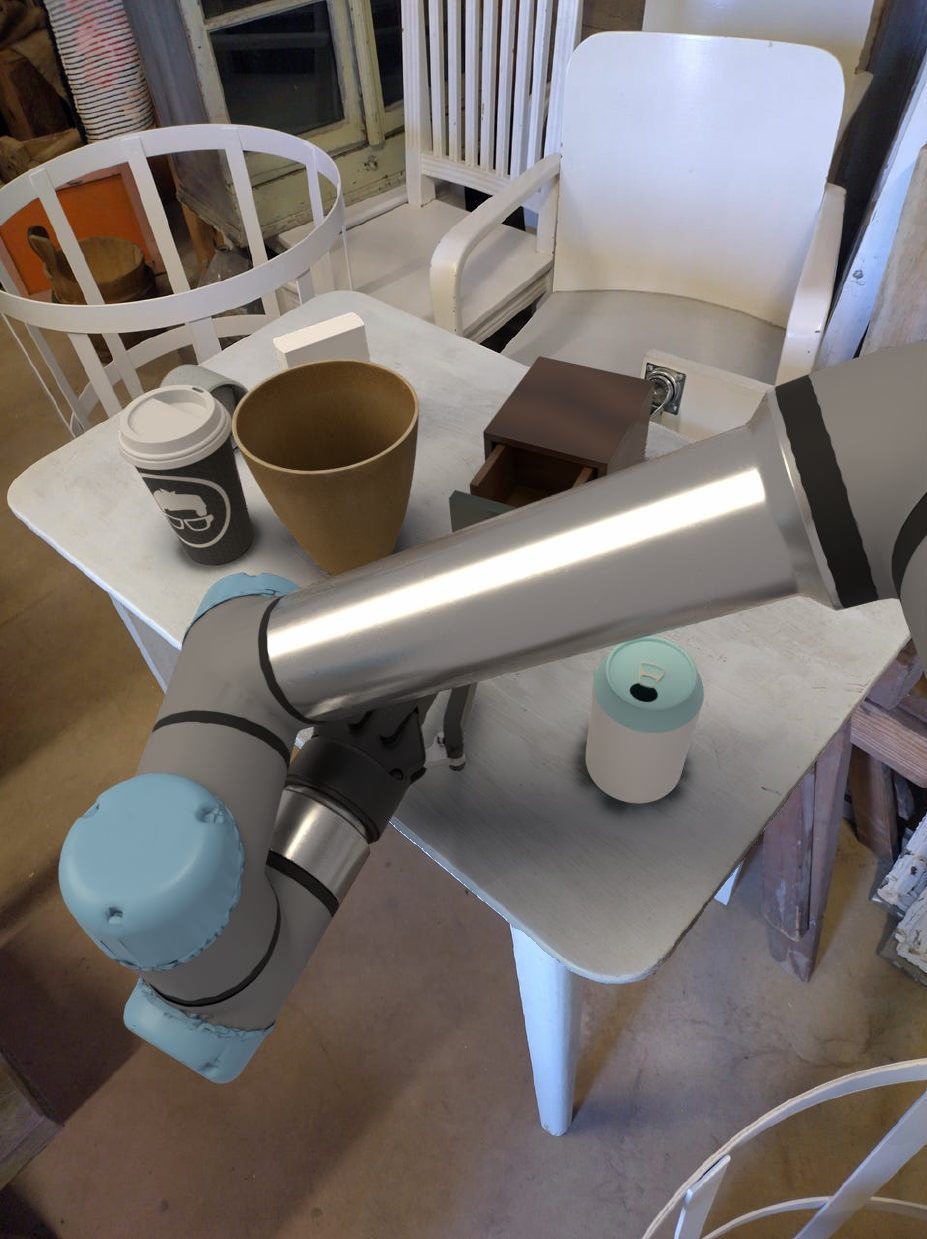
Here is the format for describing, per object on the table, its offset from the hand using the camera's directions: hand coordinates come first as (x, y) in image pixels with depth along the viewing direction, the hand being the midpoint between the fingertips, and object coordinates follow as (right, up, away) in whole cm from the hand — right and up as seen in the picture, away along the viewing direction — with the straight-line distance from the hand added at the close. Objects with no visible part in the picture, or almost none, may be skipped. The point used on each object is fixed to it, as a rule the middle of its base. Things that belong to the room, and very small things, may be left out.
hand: (481, 569), depth 65 cm
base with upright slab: (-15, +16, +24) cm, 32 cm away
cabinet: (+9, +9, +16) cm, 20 cm away
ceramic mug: (-30, +15, +24) cm, 41 cm away
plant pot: (-11, +2, +12) cm, 17 cm away
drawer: (+4, +2, +9) cm, 10 cm away
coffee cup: (-25, +3, +14) cm, 29 cm away
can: (+11, -15, -4) cm, 19 cm away
